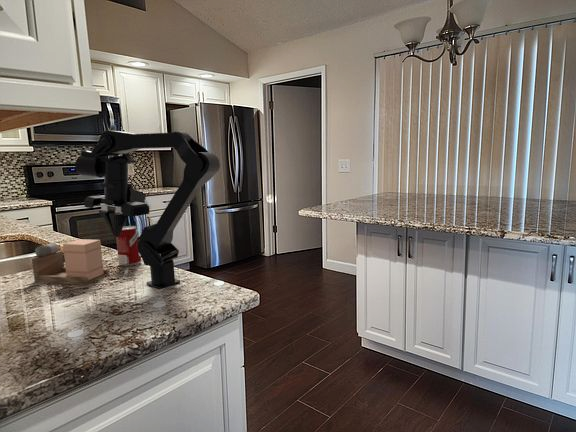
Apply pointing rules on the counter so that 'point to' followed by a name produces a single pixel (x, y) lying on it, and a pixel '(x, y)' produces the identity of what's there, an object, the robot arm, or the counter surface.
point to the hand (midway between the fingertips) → (116, 236)
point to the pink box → (83, 258)
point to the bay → (56, 267)
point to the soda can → (128, 246)
